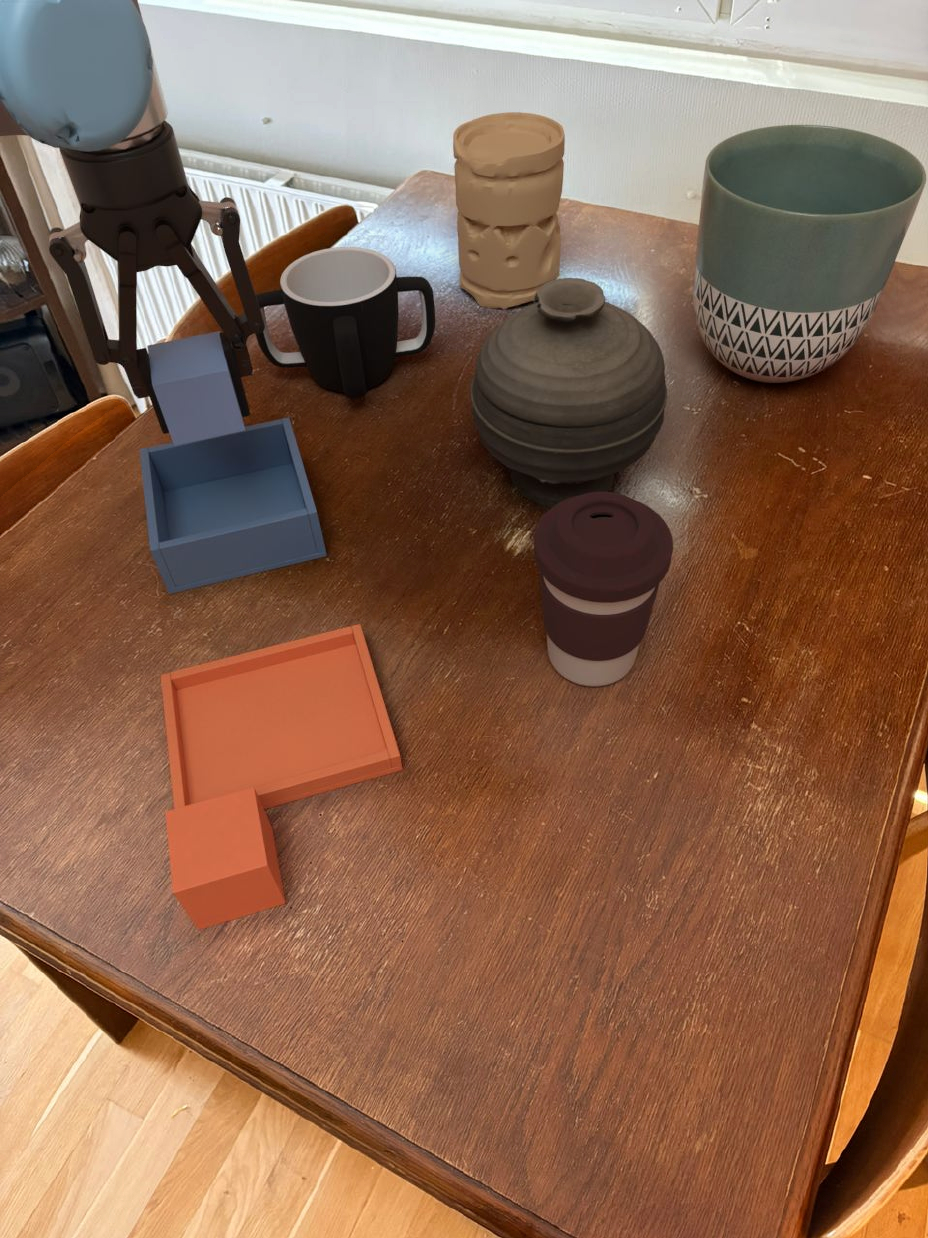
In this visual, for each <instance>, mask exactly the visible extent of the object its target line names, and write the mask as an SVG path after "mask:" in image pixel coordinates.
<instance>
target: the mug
mask: <svg viewBox="0 0 928 1238" xmlns="http://www.w3.org/2000/svg"><path fill="white" fill-rule="evenodd" d="M279 285H280V289H275V290H269V291H264V292H260V293H257V294H256V298H257V301H258V304H259V307H260V310H261V314H262V317H263V321H264V324H265V329H264V331H263V332H262V333H260V334H256V333H254V334H255V335H254V336H255V337H256V341H257V344H258V346H259V348H260V350H261V352H262V354H263V355H264V357H266V359H267V360H268V362H270V363H271V364H273V365H274V366H275V367H278V368H281V369H291V368H292V369H293V368H307V369H308V371H309V373H310V374H311V376H312V377H313V379H314V380H315V382H316V383H318V385H320V386H321V387H323V388H324V389H327V390H330V391H334V392H338V393H344V396H345V397H346V398H348V399H350V400H351V399H352V400H355V399H356V400H357V399H361V398H364V397H365V396H366V394H367V390H370V389H372V388H374V387H376V386H379V385H381V384H382V383H383V382H384V381H385V380H387V379H388V377H389V376H390V375H391V373H392V370H393V368H394V364H395V360H396V358H399V357H406V356H412V355H417V354H420V353H422V352H424V351H425V350H426V349H427V348H428V347H429V345H430V343H431V342H432V339H433V336H434V334H435V330H436V329H435V328H436V307H435V306H436V305H435V295H434V289H433V287H432V285H431V284H430V282H429V281H428V279H426V278H425V277H423V276H397V269H396V266H395V264H394V262H393V261H392V260H391V259H390V258H389V257H388V256H386V255H385V254H383V253H381V252H378V251H375V250H372V249H369V248H366V247H365V248H364V247H358V246H338V247H337V246H336V247H329V248H324V249H320V250H316V251H312V252H310V253H307V254H305V255H303V256H301V257H299V258H298V259H296V260H294V261H292V262H291V263H290V264H289V265H288V266H287V267H286V268H285V269H284V271H283V272H282V273H281V276H280V280H279ZM414 291H415V292H418V293H419V299H420V309H421V310H420V311H421V329H420V331H419V333H418V335H417V336H416V337H415V338H411V339H406V340H398V334H399V293H404V292H405V293H406V292H414ZM280 305H281V306H282V305H284V309H285V311H286V316H287V319H288V322H289V325H290V329H291V331H292V333H293V337H294V339H295V341H296V344H297V347H298V349H299V351H295V352H282V351H280V350H279V349H278V348H277V347H276V345H275V344H274V343H273V340H272V338H271V334H270V331H269V330H270V329H269V327H268V323H267V317H266V313H265V308H266V307H267V308H268V307H271V306H280Z"/></svg>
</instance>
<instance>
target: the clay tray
mask: <svg viewBox="0 0 928 1238" xmlns="http://www.w3.org/2000/svg"><path fill="white" fill-rule="evenodd" d="M160 683H161V693H162V705H163V713H164V722H165V732H166V733H165V734H166V742H167V751H168V760H169V761H168V762H169V772H170V781H171V792H172V800H173V801H172V802H173V809H176V808H180V807H183V806H187V805H190V804H194V803H197V802H201V801H205V800H208V799H212V798H215V797H219V796H222V795H226V794H230V793H233V792H237V791H240V790H244V789H247V788H251V787H255V790H256V792H257V794H258V797H259V799H260V801H261V804H262V806H263V808H264V810H267V809H270V808H274V807H277V806H280V805H285V804H287V803H291V802H295V801H298V800H302V799H305V798H309V797H312V796H316V795H320V794H323V793H327V792H331V791H334V790H337V789H340V788H344V787H348V786H351V785H355V784H358V783H362V782H366V781H368V780H372V779H375V778H379V777H383V776H387V775H389V774H393V773H397V772H400V771H403V770H404V769H403V762H402V758H401V754H400V753H401V752H400V750H399V747H398V746H399V745H398V743H397V739H396V737H395V733H394V730H393V727H392V723H391V720H390V716H389V714H388V710H387V707H386V704H385V700H384V697H383V694H382V691H381V687H380V684H379V680H378V678H377V674H376V671H375V668H374V664H373V660H372V657H371V654H370V650H369V647H368V645H367V641H366V637H365V635H364V631H363V628H362V625H361V623H357V624H354V625H351V626H350V625H349V626H345V627H341V628H337V629H334V630H330V631H326V632H322V633H318V634H315V635H310V636H307V637H306V636H305V637H302V638H299V639H295V640H291V641H287V642H283V643H279V644H275V645H271V646H267V647H263V648H259V649H255V650H251V651H247V652H244V653H239V654H236V655H232V656H228V657H224V658H220V659H216V660H211V661H209V662H204V663H201V664H197V665H192V666H190V667H185V668H181V669H178V670H173V671H170V672H166V673H162V674H160Z"/></svg>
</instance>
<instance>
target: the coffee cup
mask: <svg viewBox="0 0 928 1238" xmlns="http://www.w3.org/2000/svg"><path fill="white" fill-rule="evenodd" d="M673 551H674V540H673V534H672V532H671V529H670V527H669V526H668V523H667V522H666V521H665V519H663V517H661V515H660V514H659V513H657V511H655V510H654V509H653V508H651V506H648V505H647V504H645V503H643V502H641V501H638V500H637V499H635V498H632V497H630V496H628V495H626V494H622V493H618V492H614V491H613V492H612V491H607V492H592V493H586V494H583V495H580V496H576V497H572V498H569V499H567V500H564V501H562V502H560V503H558V504H557V505H555V506H554V507H552V508H549V509H548V510H547V511H546V512H545V513H544V514H543V516H542V517H541V518H540V520H539V521H538V523H537V525H536V528H535V530H534V538H533V557H534V561H535V564H536V566H537V569H538V571H539V579H540V591H541V592H540V593H541V594H540V596H541V609H542V611H541V612H542V621H543V627H544V631H545V633H546V645H547V656H548V659H549V661H550V663H551V665H552V667H553V668H554V670H555V671H556V672H557V673H558V674H559V675H560V676H562V677H563V678H565V679H566V680H567V681H570V682H572V683H574V684H576V685H579V686H583V687H603V686H608V685H612V684H614V683H617V682H618V681H620V680H622V679H623V678H624V677H626V676H627V674H628V673H630V671H631V669H632V668H633V666H634V665H635V662H636V660H637V655H638V651H639V648H640V644H641V642H642V641H643V640H644V638H645V636H646V633H647V629H648V627H649V623H650V619H651V616H652V612H653V610H654V609H653V608H654V605H655V602H656V598H657V595H658V590H659V587H660V583H662V581H663V580H664V579H665V577H666V575H667V573H668V572H669V568H670V566H671V564H672V563H671V562H672V557H673Z"/></svg>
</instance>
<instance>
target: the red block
mask: <svg viewBox="0 0 928 1238" xmlns="http://www.w3.org/2000/svg"><path fill="white" fill-rule="evenodd" d="M164 814H165V825H166V835H167V847H168V856H169V864H170V865H169V866H170V867H169V868H170V876H171V878H170V879H171V888H172V889H171V890H172V894H173V895H174V897H175V898H176V900H177V902H178V903H179V904H180V906H181V907H182V909H183V910H184V911H185V913H186V914H187V916H188V917H189V919H190V920H191V922H192V923H193V924H194V926H195V927H196V929H197V931H200V930H204V929H207V928H210V927H213V926H216V925H221V924H223V923H226V922H230V921H233V920H236V919H239V918H243V917H246V916H250V915H252V914H255V913H256V914H257V913H259V912H263V911H266V910H269V909H272V908H276V907H279V906H282V905H285V904H286V896H285V892H284V886H283V880H282V875H281V870H280V863H279V858H278V853H277V846H276V842H275V836H274V831H273V827H272V825H271V822H270V820H269V818H268V815H267V813H266V810H265V809H264V808H263V806H262V804H261V801H260V799H259V797H258V794H257V792H256V790H255V787H251V788H247V789H244V790H240V791H237V792H233V793H230V794H226V795H222V796H219V797H215V798H212V799H208V800H205V801H201V802H197V803H194V804H190V805H187V806H183V807H180V808H176V809H174V808H172V809H169V810H165V812H164Z"/></svg>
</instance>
